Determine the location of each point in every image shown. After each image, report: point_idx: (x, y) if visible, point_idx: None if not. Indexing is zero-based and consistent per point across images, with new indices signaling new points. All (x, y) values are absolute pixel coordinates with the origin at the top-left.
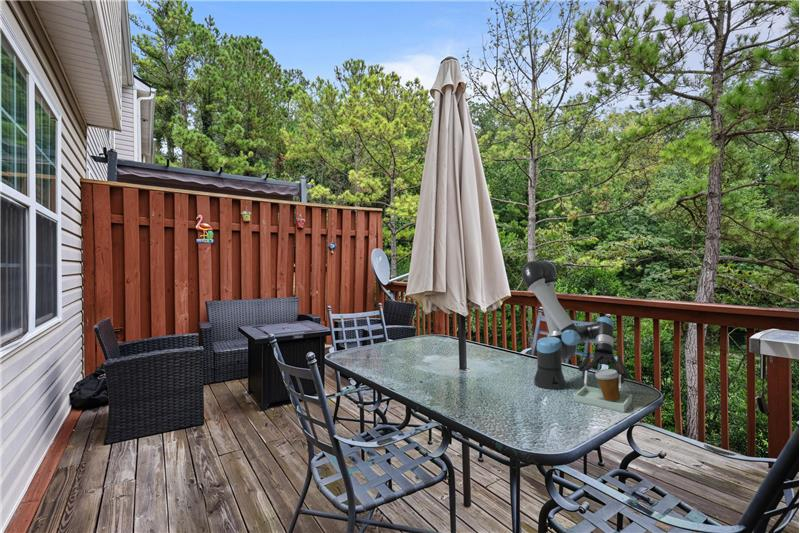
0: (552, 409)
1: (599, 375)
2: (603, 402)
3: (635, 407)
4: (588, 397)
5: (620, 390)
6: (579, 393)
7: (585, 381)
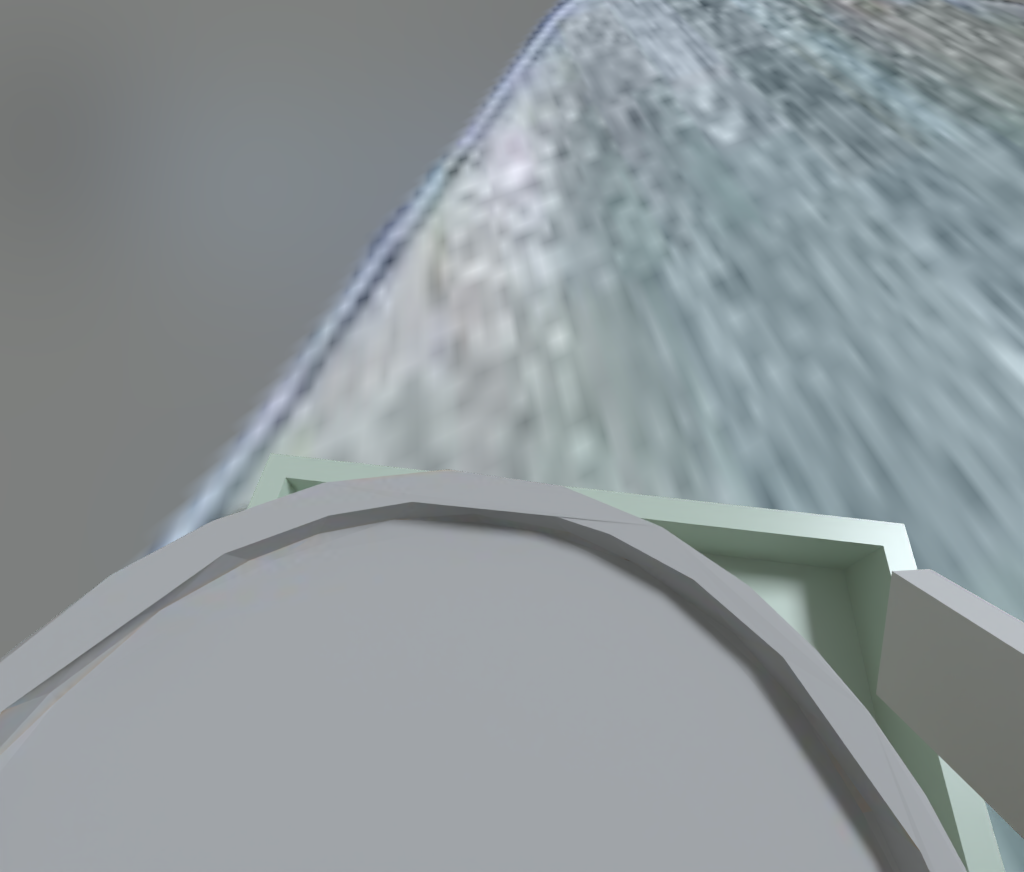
0: (875, 286)
1: (681, 551)
2: None
3: None
4: None
5: None
6: (914, 732)
7: (950, 598)
